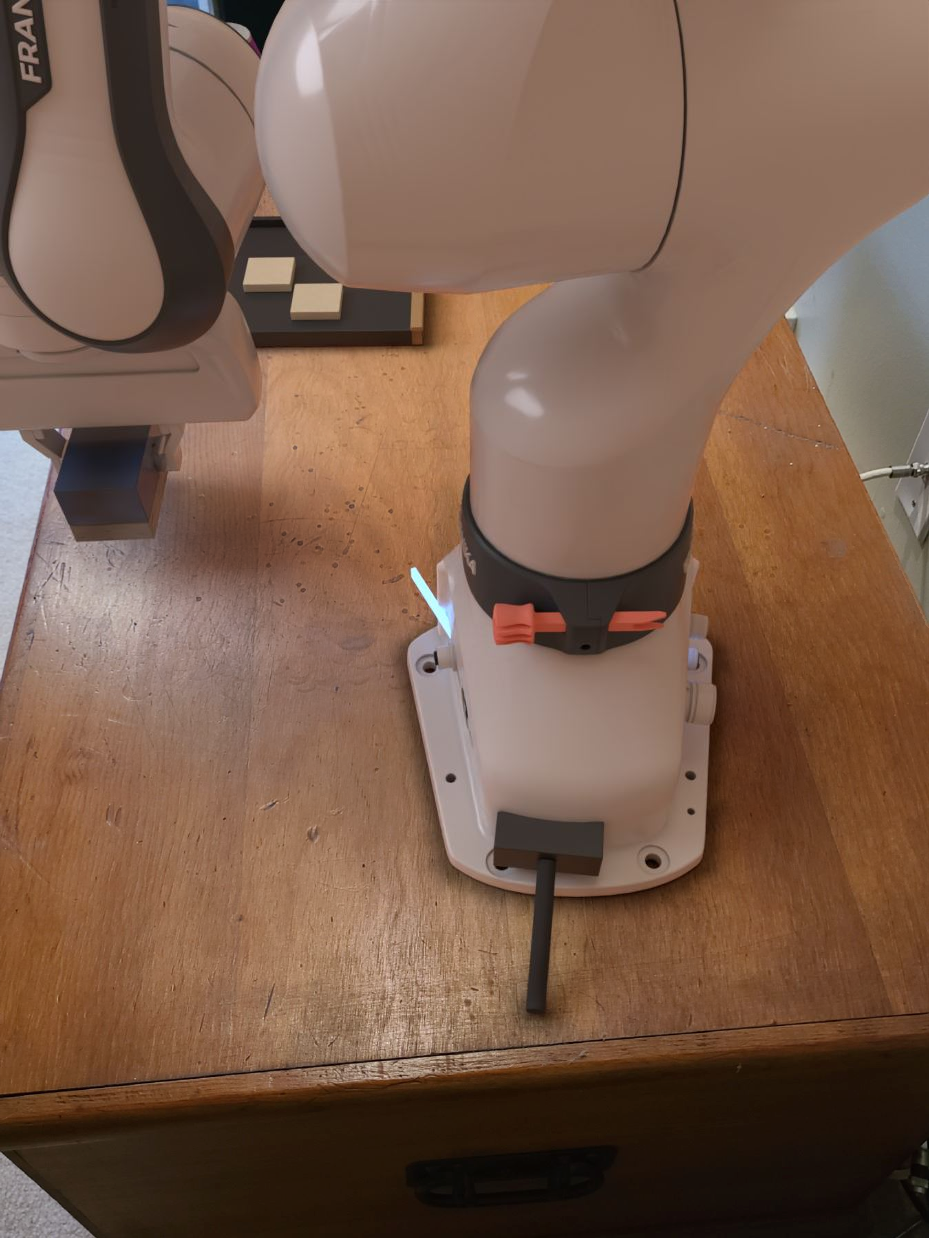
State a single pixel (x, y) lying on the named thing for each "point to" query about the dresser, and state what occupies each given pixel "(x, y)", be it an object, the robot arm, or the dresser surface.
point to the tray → (269, 239)
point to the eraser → (111, 483)
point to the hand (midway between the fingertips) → (122, 467)
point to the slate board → (360, 324)
